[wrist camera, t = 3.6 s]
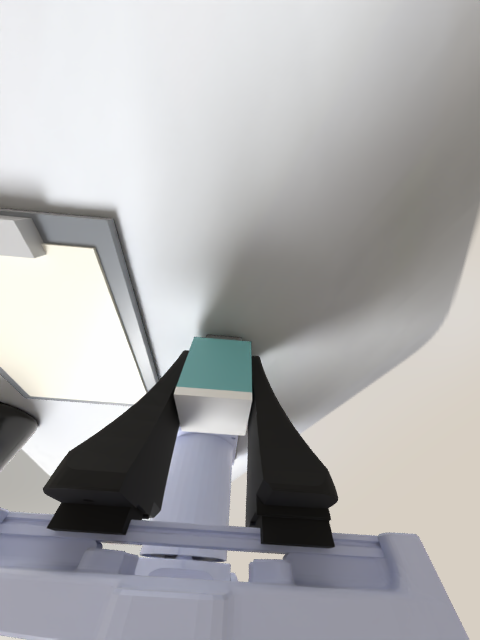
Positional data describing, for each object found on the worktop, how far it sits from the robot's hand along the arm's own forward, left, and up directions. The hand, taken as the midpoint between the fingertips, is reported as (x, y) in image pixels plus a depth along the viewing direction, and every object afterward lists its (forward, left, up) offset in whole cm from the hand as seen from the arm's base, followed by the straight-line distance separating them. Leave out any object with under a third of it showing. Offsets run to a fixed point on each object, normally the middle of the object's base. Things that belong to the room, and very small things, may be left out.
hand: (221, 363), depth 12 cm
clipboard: (0, +12, -1) cm, 12 cm away
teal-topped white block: (0, 0, -1) cm, 1 cm away
